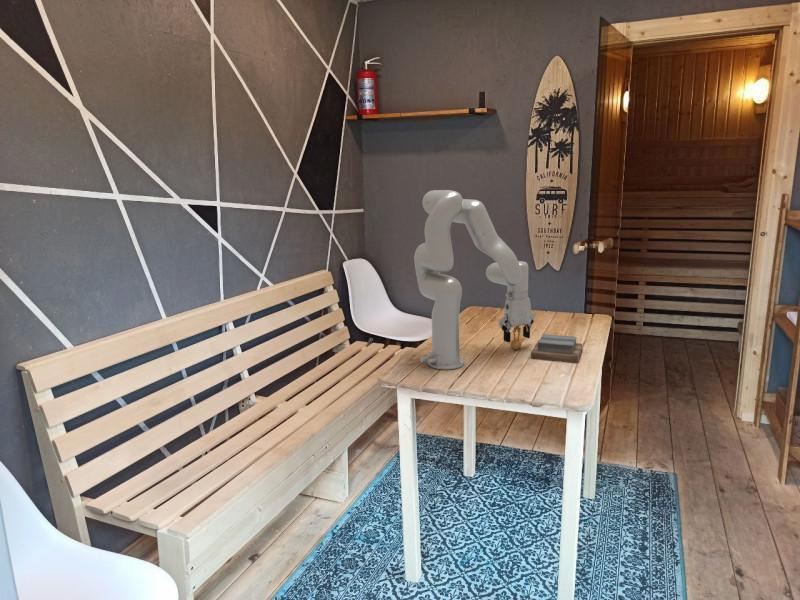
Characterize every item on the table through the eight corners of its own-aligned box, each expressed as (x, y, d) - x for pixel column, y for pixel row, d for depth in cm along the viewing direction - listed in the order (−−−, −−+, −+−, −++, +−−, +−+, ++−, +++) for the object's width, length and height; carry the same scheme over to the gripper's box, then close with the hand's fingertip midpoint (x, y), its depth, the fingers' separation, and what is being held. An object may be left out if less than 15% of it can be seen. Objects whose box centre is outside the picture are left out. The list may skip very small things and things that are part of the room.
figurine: (503, 350, 212) (504, 319, 209) (507, 345, 217) (507, 315, 215) (526, 352, 209) (526, 321, 206) (528, 347, 214) (529, 317, 212)
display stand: (577, 363, 195) (578, 348, 194) (530, 358, 202) (531, 343, 200) (581, 350, 210) (582, 335, 209) (538, 346, 216) (538, 332, 215)
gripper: (505, 299, 201) (505, 345, 205) (542, 293, 209) (541, 337, 213) (492, 296, 208) (492, 340, 211) (528, 290, 216) (527, 333, 220)
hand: (516, 339), depth 212 cm, fingers open, 9 cm apart
